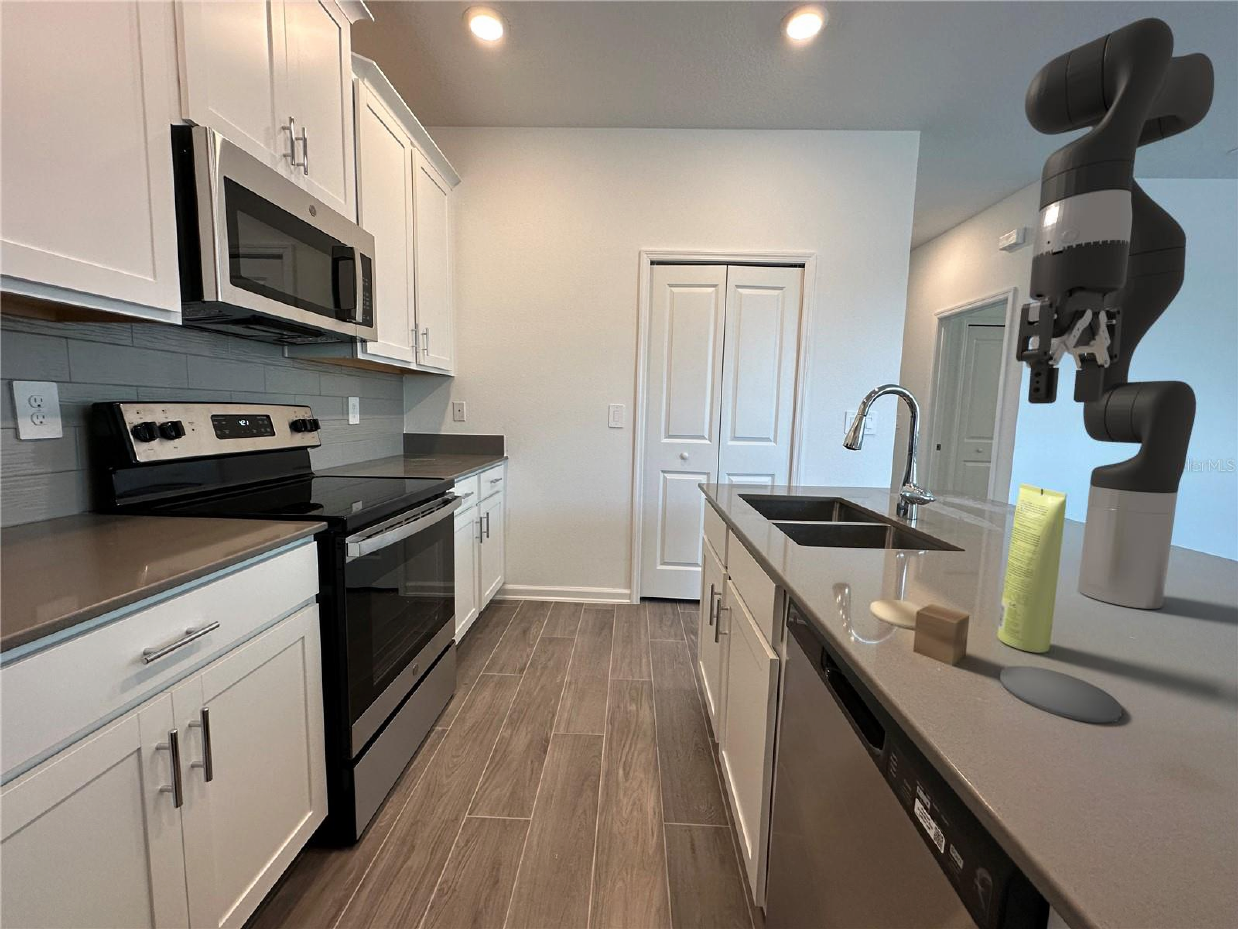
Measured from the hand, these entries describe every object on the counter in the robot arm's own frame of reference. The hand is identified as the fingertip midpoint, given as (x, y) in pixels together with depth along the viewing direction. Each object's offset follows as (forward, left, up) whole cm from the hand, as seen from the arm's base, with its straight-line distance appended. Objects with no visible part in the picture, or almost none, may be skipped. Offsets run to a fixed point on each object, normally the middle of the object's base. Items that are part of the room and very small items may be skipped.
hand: (1064, 402), depth 53 cm
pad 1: (+4, -14, -29) cm, 33 cm away
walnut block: (+10, -5, -29) cm, 31 cm away
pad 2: (+7, +5, -29) cm, 31 cm away
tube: (-2, -3, -30) cm, 30 cm away
